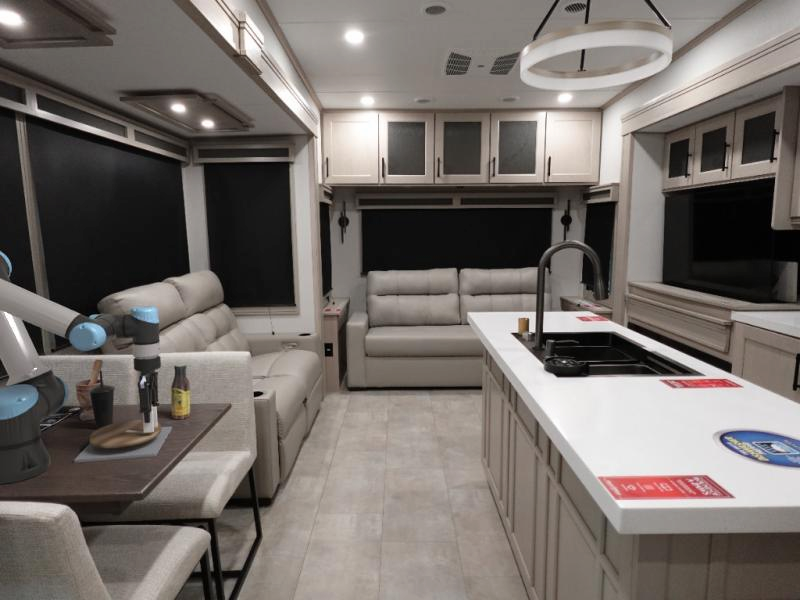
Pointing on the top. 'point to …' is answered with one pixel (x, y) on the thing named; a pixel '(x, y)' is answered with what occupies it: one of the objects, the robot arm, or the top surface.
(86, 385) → the mortar and pestle
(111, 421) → the drinking cup
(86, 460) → the wheel stand
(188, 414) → the sauce bottle
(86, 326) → the robot arm
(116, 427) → the handwheel
